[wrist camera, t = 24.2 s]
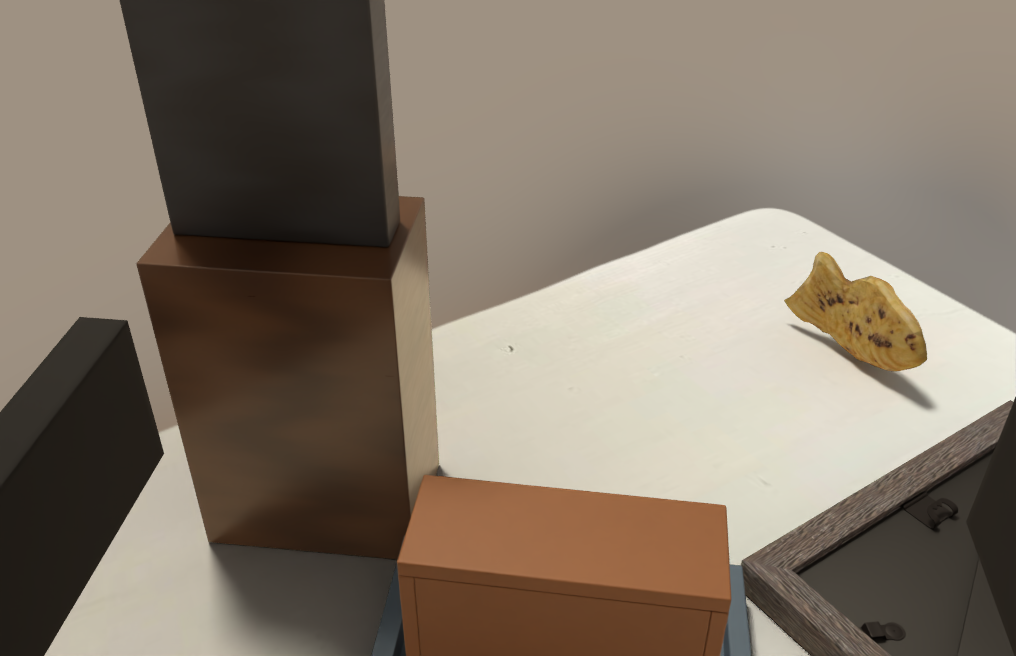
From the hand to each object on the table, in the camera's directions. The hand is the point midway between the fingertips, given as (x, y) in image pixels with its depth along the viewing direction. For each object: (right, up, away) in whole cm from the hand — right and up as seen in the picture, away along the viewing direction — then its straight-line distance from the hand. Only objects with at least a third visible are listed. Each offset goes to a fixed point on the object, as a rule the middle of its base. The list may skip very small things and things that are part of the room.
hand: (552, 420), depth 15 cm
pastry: (+18, 0, +38) cm, 42 cm away
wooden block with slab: (-9, -6, +29) cm, 31 cm away
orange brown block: (+1, -12, +20) cm, 23 cm away
